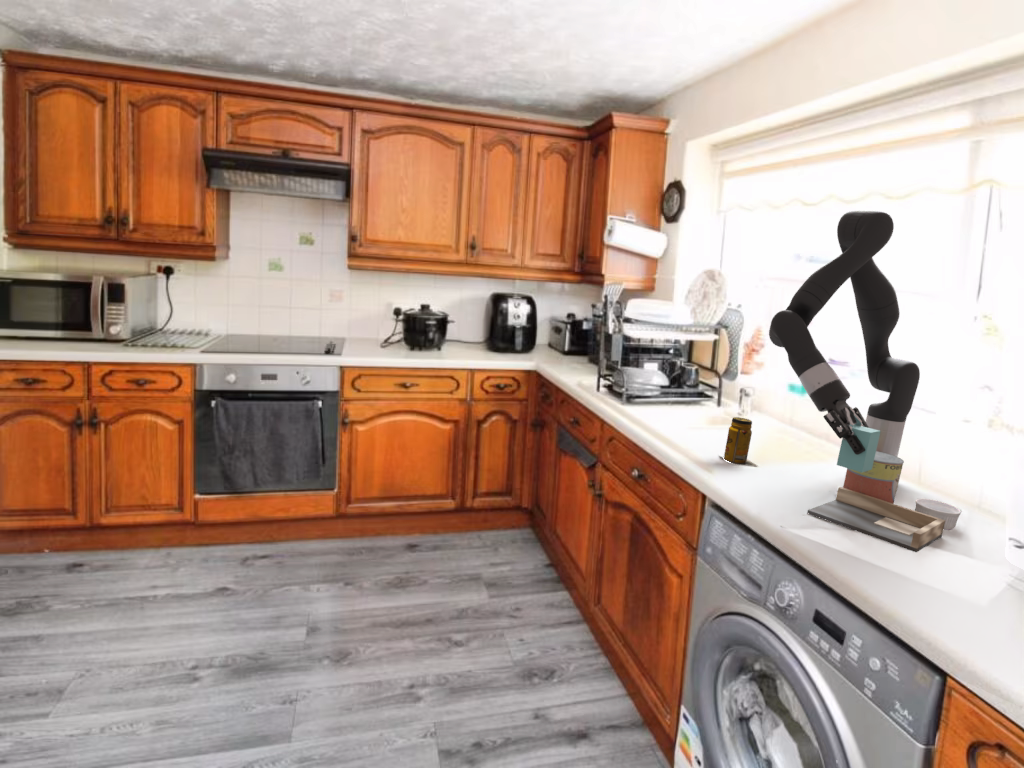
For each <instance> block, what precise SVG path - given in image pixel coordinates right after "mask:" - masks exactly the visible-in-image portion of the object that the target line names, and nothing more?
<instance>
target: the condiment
mask: <svg viewBox="0 0 1024 768" xmlns="http://www.w3.org/2000/svg"><path fill="white" fill-rule="evenodd" d="M752 425H753V421H752V420H751V419H749V418H746V417H745V418H744V417H739V416H736V417H735V416H734V417H732V419H731V424H730V426H729V427H728V431H727V432H728V433H727V439H726V442H725V443H726V445H725V448H724V454H723V455H724V456H723V457H724V459H725V460H727V461H729V462H731V463H733V464H732V465H736V466H737V465H738V466H740V465H741V466H754V467H755V466H756V467H759V465H757V464H756V463H754V462H753V461H751V460H749V458H748V456H749V449H750V444H751V440H752V434H753V433H752V432H753V431H752Z"/></svg>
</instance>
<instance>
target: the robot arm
mask: <svg viewBox="0 0 1024 768" xmlns="http://www.w3.org/2000/svg"><path fill="white" fill-rule="evenodd" d="M894 224H895V223H894V220H893V218H892V216H891V215H890V214H888V213H887V212H884V211H880V210H879V211H878V210H852V211H847V212H846V213H843V215H841V217H840V219H839V220H838V224H837V231H836V232H837V239H838V240H837V241H838V244H839V248H840V250H841V254H840V255H838V256H837V257H836V258H834V259H832V260H831V261H829V262H828V263H827V264H825V265H823V266H821V267H820V268H818V269H817V270H815V271H814V272H813V273H812V274H810V275H809V277H808V278H807V279H805V281H804V282H803V283H802V285H801V286H800V287H799V288H798V290H797V291H796V292H795V294H794V295H793V297H792V298H791V300H790V303H789V305H788V306H787V308H786V309H785V310H780V311H779V312H777V313H776V314H774V316H773V317H772V319H771V321H770V326H769V330H768V335H769V340H770V342H772V344H773V345H774V346H775V347H776V346H777V347H779V348H784V349H785V352H786V354H787V357H788V358H787V359H788V362H789V365H790V367H792V369H793V371H794V373H795V375H796V376H797V378H798V379H799V381H800V383H801V385H802V387H803V388H804V391H806V393H807V395H808V397H809V398H810V400H811V401H812V403H813V405H814V406H815V407H816V409H817V410H818V412H820V413H823V412H827V413H826V414H824V416H823V418H824V420H825V422H826V423H827V424H828V425H829V427H830V428H831V429H832V431H833V432H834V433H835V435H836V436H837V437H838V438H839V439H841V440H842V438H843V439H844V440H845V441H846V440H847V442H848V444H849V445H850V447H851V448H852V450H853V451H854V453H855V454H856V455H858V454H860V453H862V452H864V451H865V448H864V446H863V445H862V443H861V442H860V440H859V439H858V437H857V436H855V435H856V434H855V432H854V430H853V429H852V428H853V425H858V426H864V427H868V428H871V429H875V430H879V431H881V432H880V436H879V440H878V445H877V449H876V451H879V452H883V453H887V454H890V455H893V456H896V457H898V456H899V451H900V448H901V447H900V446H901V443H902V440H903V439H902V438H903V435H904V430H905V425H906V421H907V418H908V415H909V413H910V411H911V410H912V406H913V404H914V403H913V402H914V399H915V397H916V393H917V390H918V385H919V383H920V382H919V381H920V373H921V372H920V368H919V365H917V364H916V363H915V362H914V361H909V360H903V359H900V358H899V359H898V358H895V357H892V356H891V353H890V349H889V339H890V336H891V334H892V333H893V332H894V329H895V328H896V326H897V324H898V322H899V319H900V308H899V301H898V295H897V292H896V290H895V288H894V286H893V285H892V283H891V282H890V280H889V279H888V278H887V276H886V275H885V274H884V273H883V272H882V269H880V267H878V265H877V263H876V262H875V260H874V258H873V257H875V256H876V254H878V253H879V252H880V251H881V250H882V249H883V248H884V247H885V246H886V245H887V244H888V243H889V242H890V239H891V238H892V236H893V233H894V227H895V226H894ZM849 279H850V282H851V286H852V290H853V294H854V299H855V305H856V309H857V310H856V311H857V313H858V314H857V315H858V319H859V322H860V326H861V333H862V337H863V342H864V347H865V357H866V359H865V361H866V368H867V377H868V381H869V382H870V385H871V387H873V388H874V389H876V390H878V391H882V392H886V393H889V394H888V398H887V399H886V400H885V401H882V402H879V403H877V402H876V403H871V404H870V405H869V407H868V409H867V414H866V418H865V419H864V417H863V414H862V413H861V412H860V410H859V408H858V407H856V406H855V407H852V406H850V405H849V404H848V403H847V400H848V399H850V398H851V394H850V392H849V391H848V389H847V388H846V386H845V385H844V383H843V382H842V380H841V378H840V377H839V376H838V374H837V373H836V372H835V370H834V369H833V368H832V366H831V365H830V364H829V363H828V362H827V359H825V357H824V356H823V354H822V353H821V351H820V350H819V349H818V347H817V346H816V344H815V342H814V339H813V336H812V335H811V332H810V330H809V326H810V324H811V322H812V321H813V319H814V318H815V316H817V314H818V313H819V312H820V311H821V310H822V309H823V308H824V306H825V305H826V304H827V303H828V302H829V300H830V299H831V298H832V297H833V295H834V294H835V293H837V291H838V290H839V289H840V288H841V287H842V285H843V284H844V283H845V282H847V280H849ZM898 458H899V457H898Z"/></svg>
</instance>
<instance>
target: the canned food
mask: <svg viewBox="0 0 1024 768" xmlns="http://www.w3.org/2000/svg"><path fill="white" fill-rule="evenodd" d="M904 463H905V461H904V460H903V458H900V457H896V456H893V455H890V454H887V453H883V452H879V451H876V453H875V458H874V462H873V466H872V470H869V471H866V472H858V471H855V470H852V469H848V468H846V472H845V477H844V482H843V486H842V488H846V489H849V490H852V491H855V492H858V493H861V494H864V495H867V496H871V497H874V498H877V499H880V500H883V501H886V502H889V503H893V504H895V500H896V495H897V492H898V491H897V490H898V487H899V482H900V478H901V475H902V469H903V465H904Z"/></svg>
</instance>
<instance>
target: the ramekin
mask: <svg viewBox="0 0 1024 768" xmlns="http://www.w3.org/2000/svg"><path fill="white" fill-rule="evenodd" d="M914 510H915V511H918V512H921V513H924V514H927V515H930V516H933V517H937V518H940V519H943V520H946V521H945V525H944V530H945V531H952V530H954V529H955V528H956V525H957V522H958V520H959V517H960V516H961V514H962V511H961V509H960V508H958V507H956V506H955V505H952V504H949V503H947V502H943V501H940V500H937V499H936V500H935V499H930V498H917V499H915V509H914ZM944 530H943V531H944Z"/></svg>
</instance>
